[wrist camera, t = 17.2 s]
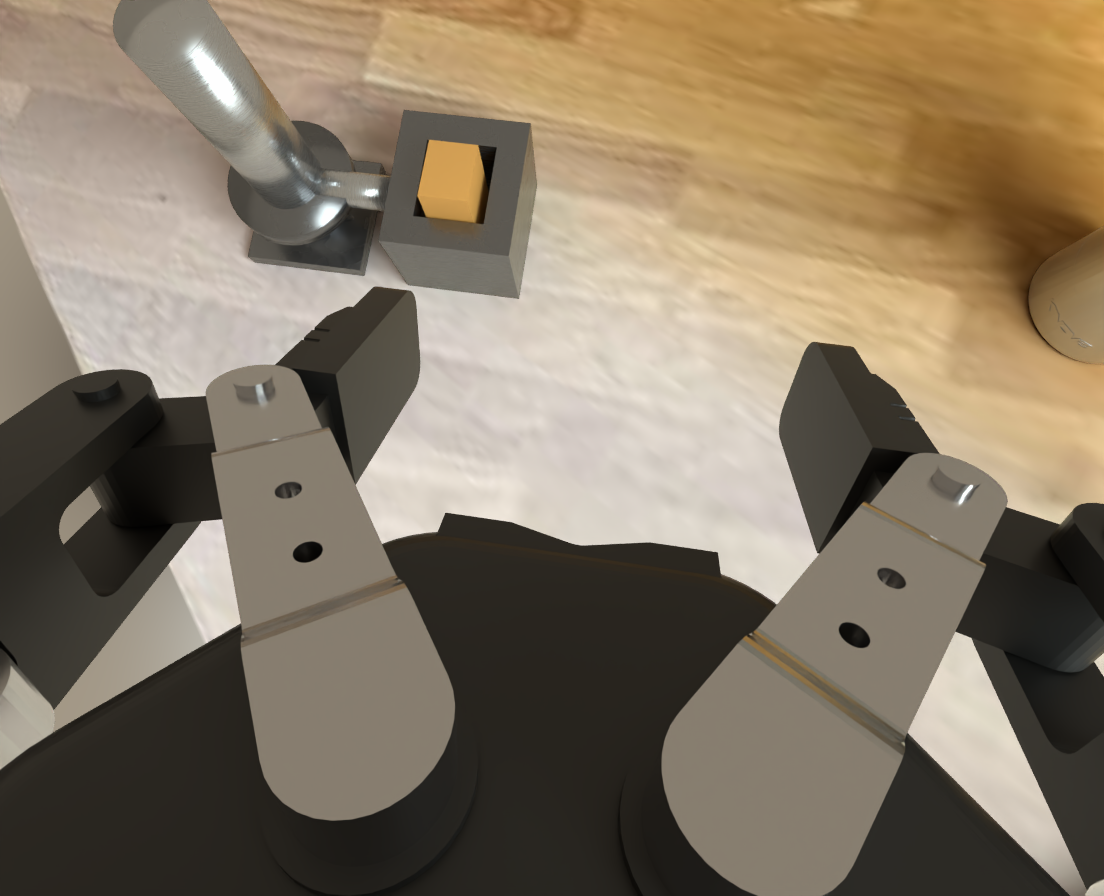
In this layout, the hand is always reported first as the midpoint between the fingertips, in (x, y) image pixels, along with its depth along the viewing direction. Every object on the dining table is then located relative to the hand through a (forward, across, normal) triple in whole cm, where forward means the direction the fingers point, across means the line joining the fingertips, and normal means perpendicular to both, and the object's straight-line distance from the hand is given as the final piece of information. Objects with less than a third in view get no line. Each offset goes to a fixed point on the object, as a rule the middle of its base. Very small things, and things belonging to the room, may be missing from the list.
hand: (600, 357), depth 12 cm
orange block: (+33, +11, +9) cm, 36 cm away
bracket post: (+34, +17, +9) cm, 40 cm away
